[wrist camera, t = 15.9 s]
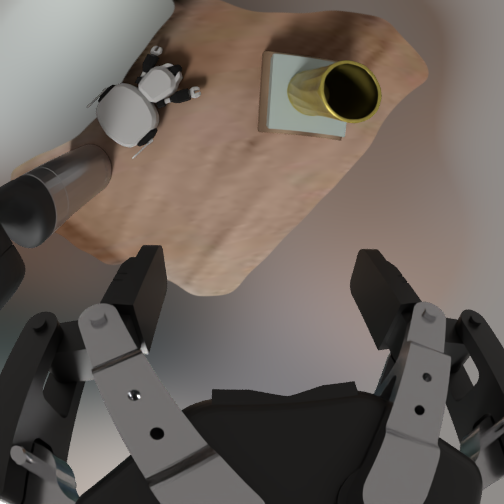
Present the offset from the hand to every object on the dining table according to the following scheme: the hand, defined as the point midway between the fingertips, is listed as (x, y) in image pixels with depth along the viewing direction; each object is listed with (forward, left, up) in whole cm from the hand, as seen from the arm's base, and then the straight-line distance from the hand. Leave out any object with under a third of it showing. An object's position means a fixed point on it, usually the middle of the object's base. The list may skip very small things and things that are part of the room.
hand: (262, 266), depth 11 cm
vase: (+7, +8, -26) cm, 28 cm away
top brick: (+7, +8, -30) cm, 32 cm away
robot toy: (-16, +7, -35) cm, 39 cm away
